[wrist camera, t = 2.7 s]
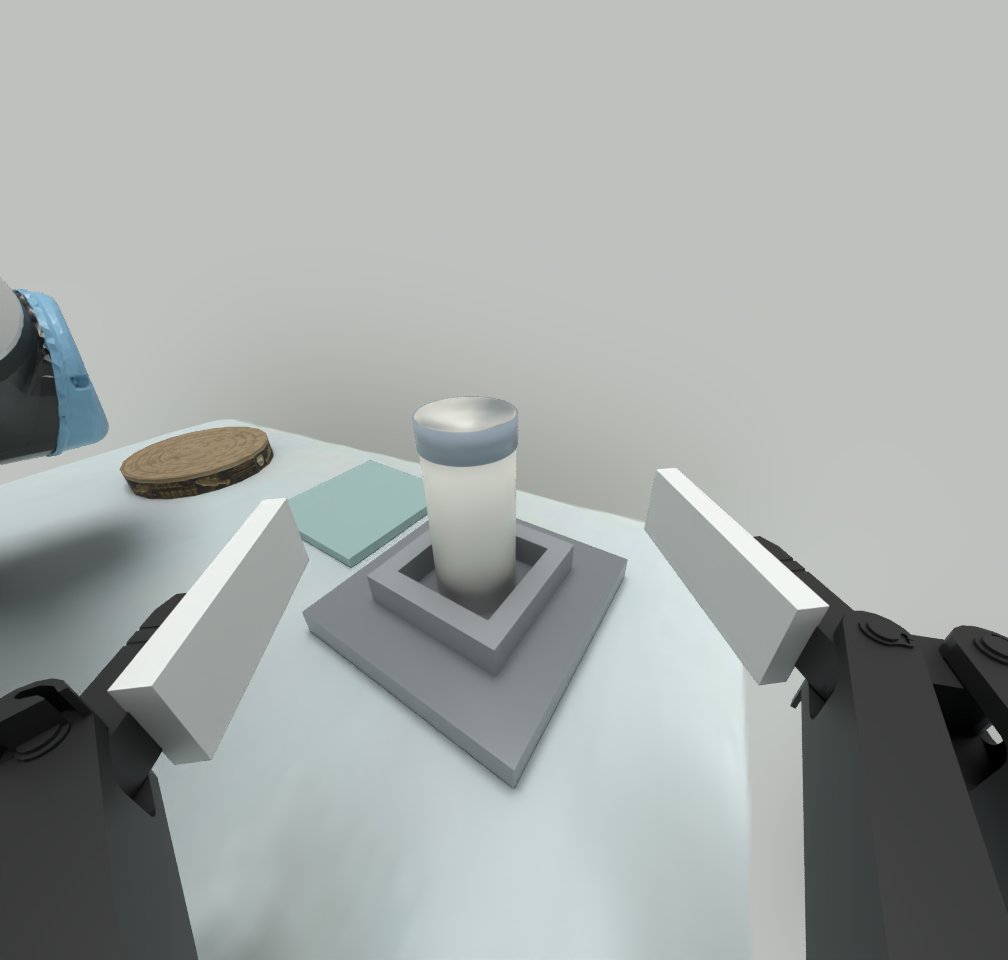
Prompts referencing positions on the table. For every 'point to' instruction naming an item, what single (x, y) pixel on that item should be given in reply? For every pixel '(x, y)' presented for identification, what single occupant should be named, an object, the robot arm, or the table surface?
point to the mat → (359, 510)
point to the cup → (470, 496)
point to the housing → (474, 639)
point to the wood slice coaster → (197, 462)
